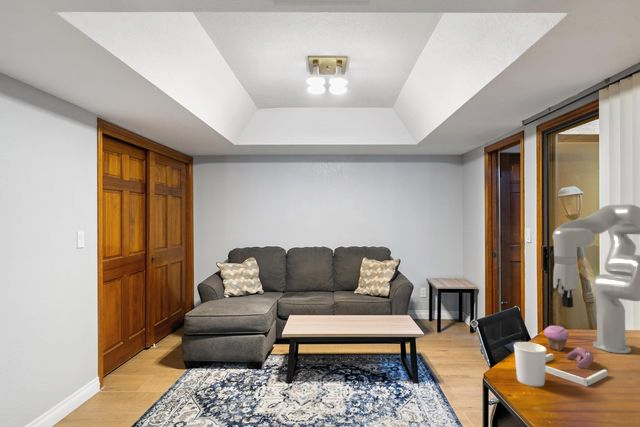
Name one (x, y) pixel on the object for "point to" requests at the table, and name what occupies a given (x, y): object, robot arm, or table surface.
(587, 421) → the table surface
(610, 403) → the table surface
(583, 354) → the video game controller
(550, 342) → the cupcake
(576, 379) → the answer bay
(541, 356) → the candle holder
